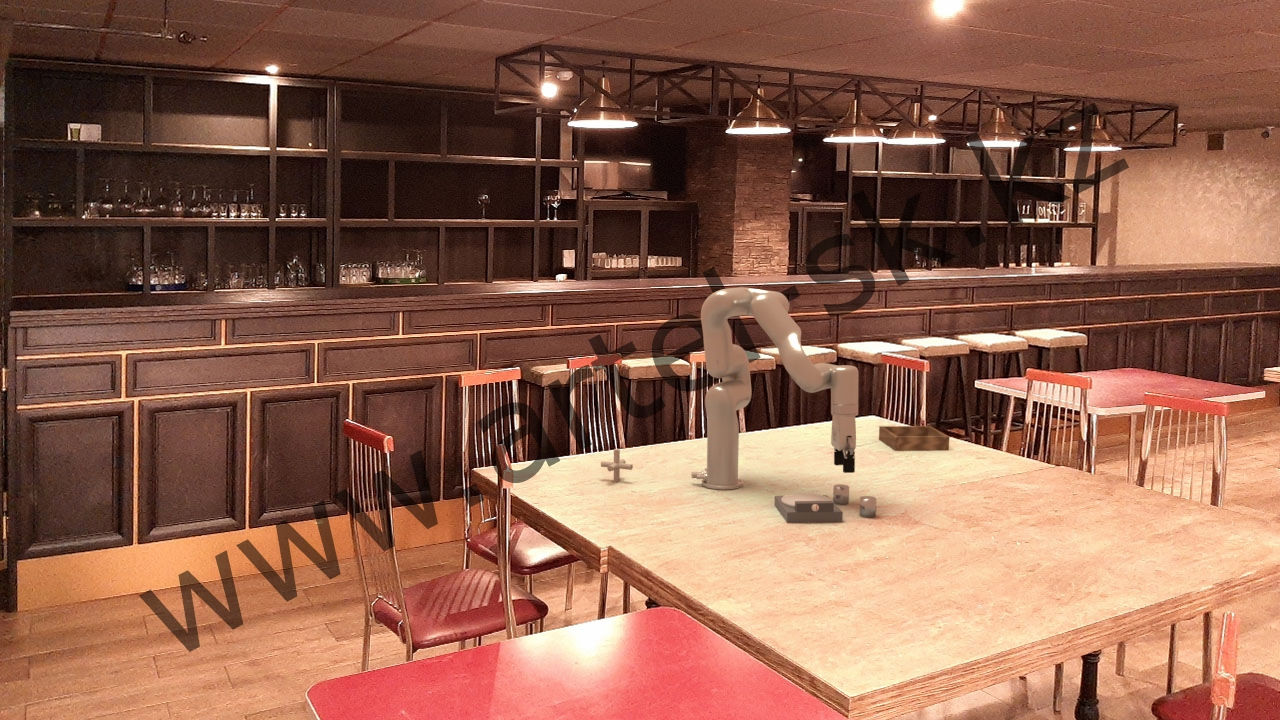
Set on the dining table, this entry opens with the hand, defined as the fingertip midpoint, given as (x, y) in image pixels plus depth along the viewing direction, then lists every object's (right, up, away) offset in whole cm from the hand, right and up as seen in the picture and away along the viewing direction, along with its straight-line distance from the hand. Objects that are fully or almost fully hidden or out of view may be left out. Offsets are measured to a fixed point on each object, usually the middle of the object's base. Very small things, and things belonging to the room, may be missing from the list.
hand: (844, 468), depth 293 cm
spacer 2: (+4, -12, -11) cm, 17 cm away
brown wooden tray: (+41, 0, +81) cm, 91 cm away
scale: (-12, -11, -9) cm, 19 cm away
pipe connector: (-65, -7, +25) cm, 70 cm away
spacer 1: (-1, -10, +2) cm, 10 cm away
